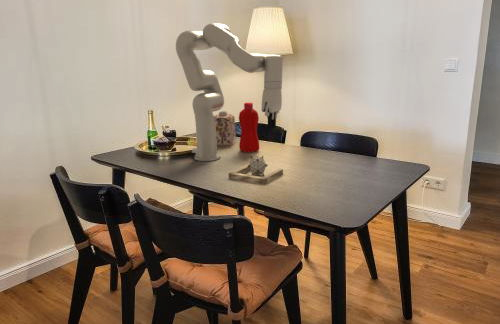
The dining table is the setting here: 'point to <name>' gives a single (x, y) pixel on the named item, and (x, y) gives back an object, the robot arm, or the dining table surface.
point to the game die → (257, 165)
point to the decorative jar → (225, 128)
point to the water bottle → (248, 129)
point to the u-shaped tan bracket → (240, 175)
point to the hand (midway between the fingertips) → (271, 127)
